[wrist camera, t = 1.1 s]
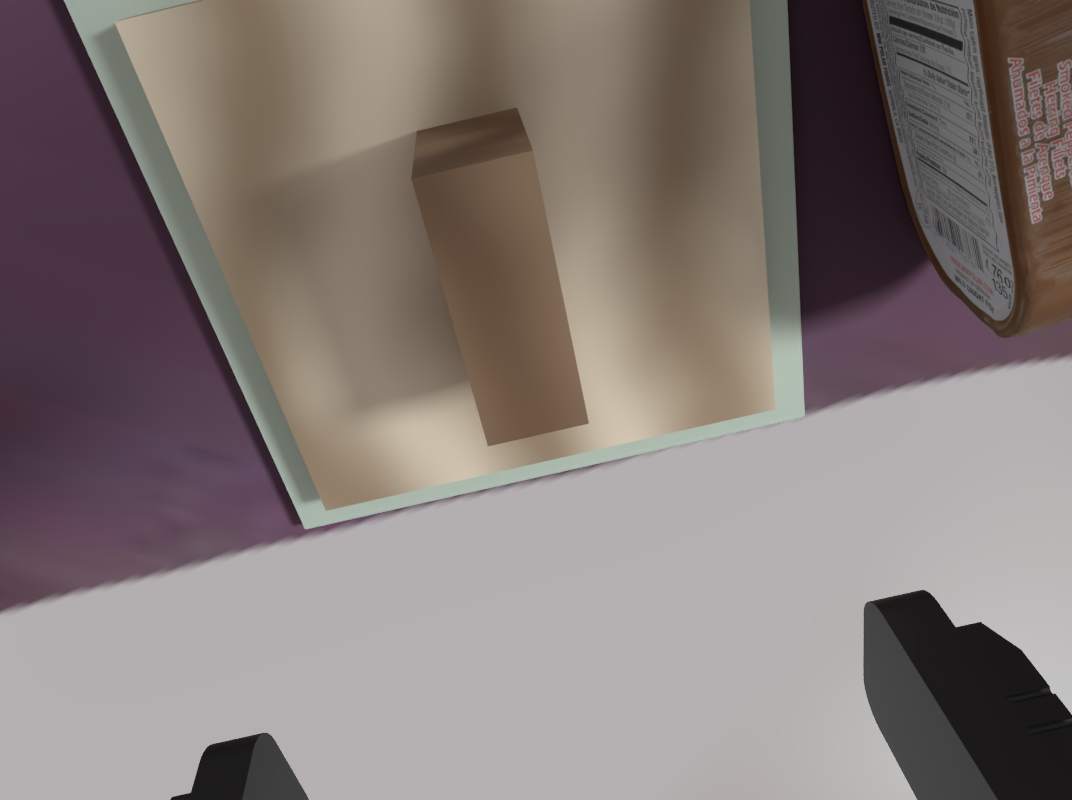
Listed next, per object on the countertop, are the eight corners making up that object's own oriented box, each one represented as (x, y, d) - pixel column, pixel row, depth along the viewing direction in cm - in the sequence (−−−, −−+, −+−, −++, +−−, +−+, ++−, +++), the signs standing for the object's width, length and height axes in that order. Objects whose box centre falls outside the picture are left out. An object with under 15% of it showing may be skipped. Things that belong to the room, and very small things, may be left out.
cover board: (727, -128, 23) (813, -137, 18) (764, 392, 32) (829, 491, 26) (128, 16, 23) (35, 49, 18) (329, 491, 32) (306, 608, 27)
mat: (770, -204, 23) (778, -206, 22) (799, 408, 33) (804, 417, 32) (58, -32, 23) (49, -31, 22) (307, 519, 33) (304, 529, 33)
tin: (988, 248, 30) (1159, 356, 23) (904, 285, 31) (1046, 402, 23) (909, -223, 23) (1127, -284, 15) (799, -166, 23) (962, -199, 16)
